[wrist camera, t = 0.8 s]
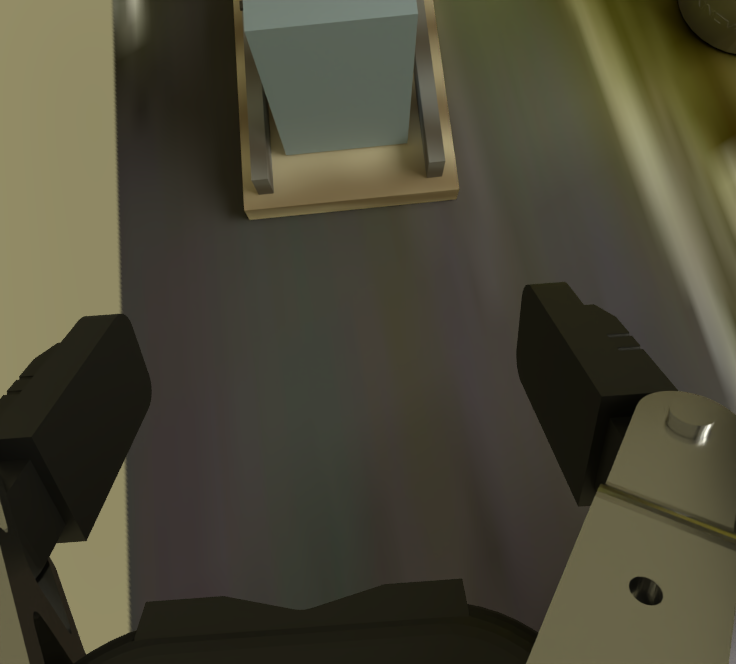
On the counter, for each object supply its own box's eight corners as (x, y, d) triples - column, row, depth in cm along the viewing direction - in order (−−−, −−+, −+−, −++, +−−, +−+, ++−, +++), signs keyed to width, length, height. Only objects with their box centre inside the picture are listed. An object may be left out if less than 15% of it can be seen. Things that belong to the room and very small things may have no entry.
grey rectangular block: (407, 143, 36) (418, 13, 25) (286, 155, 36) (244, 31, 25) (399, 75, 37) (406, -77, 26) (281, 87, 37) (239, -60, 26)
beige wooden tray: (456, 199, 37) (464, 172, 33) (249, 219, 37) (235, 195, 33) (413, -114, 42) (416, -167, 38) (232, -96, 42) (218, -146, 38)
